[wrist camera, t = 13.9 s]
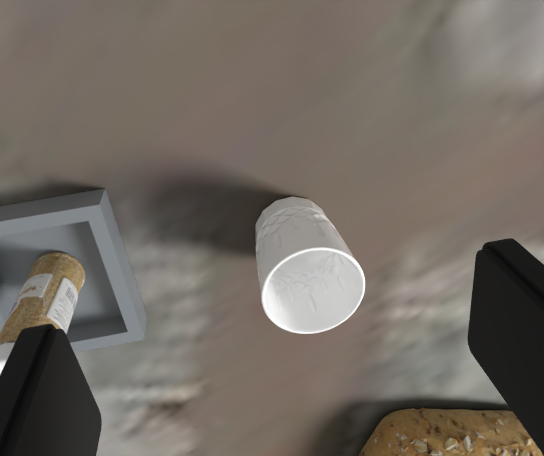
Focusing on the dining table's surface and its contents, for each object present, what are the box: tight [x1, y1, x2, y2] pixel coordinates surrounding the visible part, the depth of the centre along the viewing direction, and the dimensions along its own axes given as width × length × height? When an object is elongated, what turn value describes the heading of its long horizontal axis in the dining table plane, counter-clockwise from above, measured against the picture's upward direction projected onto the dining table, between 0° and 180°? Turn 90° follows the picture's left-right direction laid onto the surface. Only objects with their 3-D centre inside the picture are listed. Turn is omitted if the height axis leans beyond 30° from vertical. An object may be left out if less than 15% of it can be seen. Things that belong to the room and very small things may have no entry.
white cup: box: [255, 196, 365, 334], centre depth 41 cm, size 8×8×10 cm
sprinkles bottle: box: [0, 252, 85, 374], centre depth 37 cm, size 5×5×13 cm
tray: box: [0, 188, 147, 353], centre depth 42 cm, size 14×12×3 cm
